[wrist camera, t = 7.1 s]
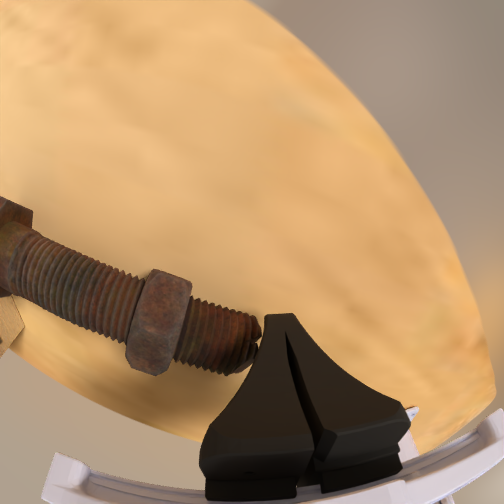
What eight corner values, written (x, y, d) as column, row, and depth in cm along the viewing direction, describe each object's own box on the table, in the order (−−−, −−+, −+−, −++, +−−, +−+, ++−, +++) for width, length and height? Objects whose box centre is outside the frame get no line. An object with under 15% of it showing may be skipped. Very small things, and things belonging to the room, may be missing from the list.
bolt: (241, 312, 16) (26, 229, 13) (280, 274, 12) (6, 171, 9) (224, 407, 13) (-16, 307, 9) (265, 404, 9) (-57, 263, 6)
